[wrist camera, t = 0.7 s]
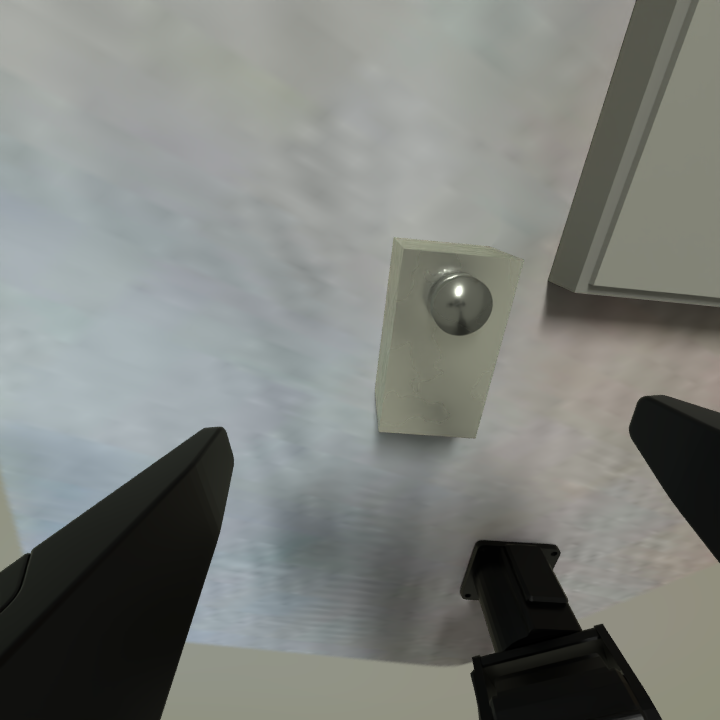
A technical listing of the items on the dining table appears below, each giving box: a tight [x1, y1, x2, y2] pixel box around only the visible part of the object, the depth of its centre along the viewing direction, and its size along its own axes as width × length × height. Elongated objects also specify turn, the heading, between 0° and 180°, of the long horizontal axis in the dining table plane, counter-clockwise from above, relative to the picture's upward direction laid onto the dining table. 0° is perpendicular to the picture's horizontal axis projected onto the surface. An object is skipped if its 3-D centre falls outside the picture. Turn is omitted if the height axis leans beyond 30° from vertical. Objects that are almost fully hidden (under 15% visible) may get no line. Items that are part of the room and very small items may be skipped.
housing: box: [375, 237, 524, 438], centre depth 18 cm, size 9×5×6 cm, turn 175°
